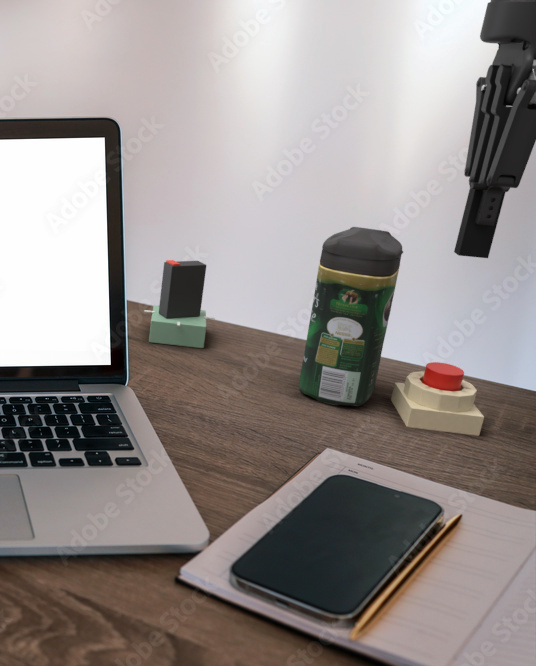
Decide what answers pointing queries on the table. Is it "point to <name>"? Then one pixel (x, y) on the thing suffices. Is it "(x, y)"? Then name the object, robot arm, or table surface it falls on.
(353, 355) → the coffee jar
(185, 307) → the black box red top
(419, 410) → the button housing
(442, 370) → the button
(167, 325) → the dial panel
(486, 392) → the table surface
